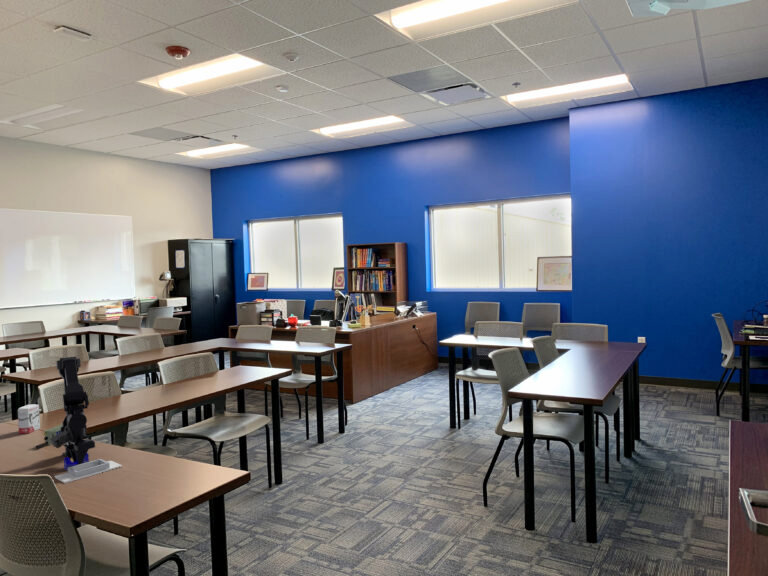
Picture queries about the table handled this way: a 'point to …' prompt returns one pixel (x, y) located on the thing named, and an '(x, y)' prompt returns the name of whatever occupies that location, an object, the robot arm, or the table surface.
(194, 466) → the table surface
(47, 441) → the handheld radio
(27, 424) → the ink box
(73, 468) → the desk organizer
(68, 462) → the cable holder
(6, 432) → the table surface
